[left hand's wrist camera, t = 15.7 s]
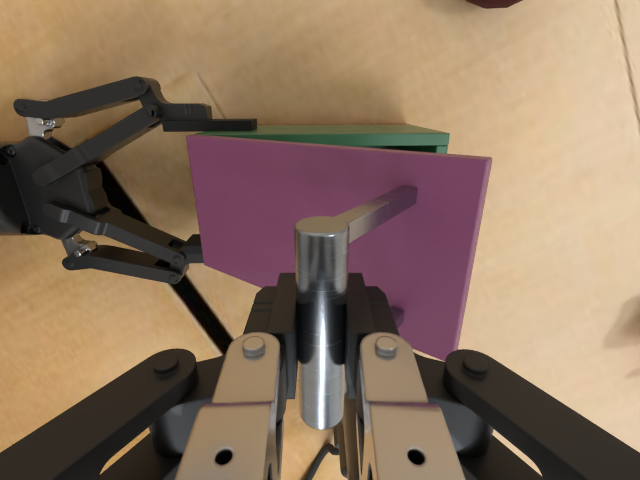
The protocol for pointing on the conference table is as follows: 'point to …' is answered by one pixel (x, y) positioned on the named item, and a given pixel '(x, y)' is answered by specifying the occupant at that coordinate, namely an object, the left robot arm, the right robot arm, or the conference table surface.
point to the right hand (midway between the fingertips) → (258, 187)
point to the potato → (494, 3)
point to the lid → (343, 240)
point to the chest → (349, 135)
